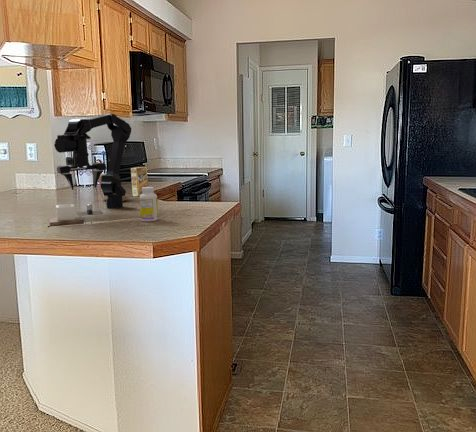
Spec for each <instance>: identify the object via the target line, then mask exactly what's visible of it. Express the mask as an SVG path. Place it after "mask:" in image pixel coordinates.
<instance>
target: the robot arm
mask: <svg viewBox="0 0 476 432" xmlns="http://www.w3.org/2000/svg"><path fill="white" fill-rule="evenodd" d="M105 125H106V126H107V127H106V128H107V129H109V131H110V132H111V133H110V135H111V139H112V140H113V141H112V142H113V143H112V147H111V152H110V157H109V163H108V168H107V165H106V163H105V162H94V163H93V162H92V164H90V161H89V155H90V154H89V150H88V142H87V140H91V138H92V137H91V136H89V135H88V134H87V133H89V132H91V130H92V129H94V128H98V127H101V126H105ZM131 134H132V127H131V124H129V123H128V122H126V120H124V119H123V118H120V117H118V116H117V115H116V114H115V113H105V114H102V115H99V116H95V117H90V118H87V119H82V118H79V119H78V118H77V119H70V120H69V121H68V123H67V126H66V129H65V131H64V133H63V134H57V136H56V137H57V138H56V139H55V140H54V145H53V146H54V149H55V150H56V152H57V153H72V156H66V157H65V164H66V165H65V164H64V165H57V167H56V173H57V174H59V175H61V176H64V177H65V179H66V180H67V182H68V185H69V186H70V188H71V190H72V191H74V190H75V189H74V188H75V187H74V181H73V173H71V172H75V171H77V172H78V171H88V170H90V171H91V170H92V174H93V188H95V189H97V186H98V183H99V177H100V175H101V174H103V173H104V171H105V170H107V172H105V173H106V175H102V177H101V182H100V183H99V185H100V184H101V185H100V189H101V191H102V194H103V197H104V196H107V199H106V200H105V205H106V207H105V208H106V209H120V208H123V207H124V206H123V205H124V203H123V202H124V201H122V196H126V192H127V191H126V189H125V188H124V187H123V186H122V179H121V177H120V171H121V167H122V166H121V165H122V161H123V160H122V158H123V154H124V148H125V145H126V143H127V142H128V140H129V139H130V137H131Z"/></svg>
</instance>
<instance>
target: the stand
mask: <svg viewBox="0 0 476 432" xmlns="http://www.w3.org/2000/svg"><path fill="white" fill-rule="evenodd" d="M76 214H77V215H81V216H82V217H84V216H91V215H92V216H93V215H104V212H103V211H102V210H101V209H99V210H93V203H90V204H86V211H77V212H76Z"/></svg>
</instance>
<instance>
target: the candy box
mask: <svg viewBox="0 0 476 432" xmlns="http://www.w3.org/2000/svg"><path fill="white" fill-rule="evenodd" d="M130 176H131V188H132V189H131V191H132V196H133V197H140V195H141V194H142V188H143V187H149V183H148V182H149V181H148V179H149V177H148V167H147V166H141V167H140V166H139V167H138V166H137V167H131V168H130Z"/></svg>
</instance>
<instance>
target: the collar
mask: <svg viewBox="0 0 476 432" xmlns="http://www.w3.org/2000/svg"><path fill="white" fill-rule="evenodd" d="M75 209H76V208H75V205H74V203H71V204H56V205H55V212H56V217H57V221H60V220H72V219H75V216H76V212H75V211H76V210H75Z"/></svg>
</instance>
